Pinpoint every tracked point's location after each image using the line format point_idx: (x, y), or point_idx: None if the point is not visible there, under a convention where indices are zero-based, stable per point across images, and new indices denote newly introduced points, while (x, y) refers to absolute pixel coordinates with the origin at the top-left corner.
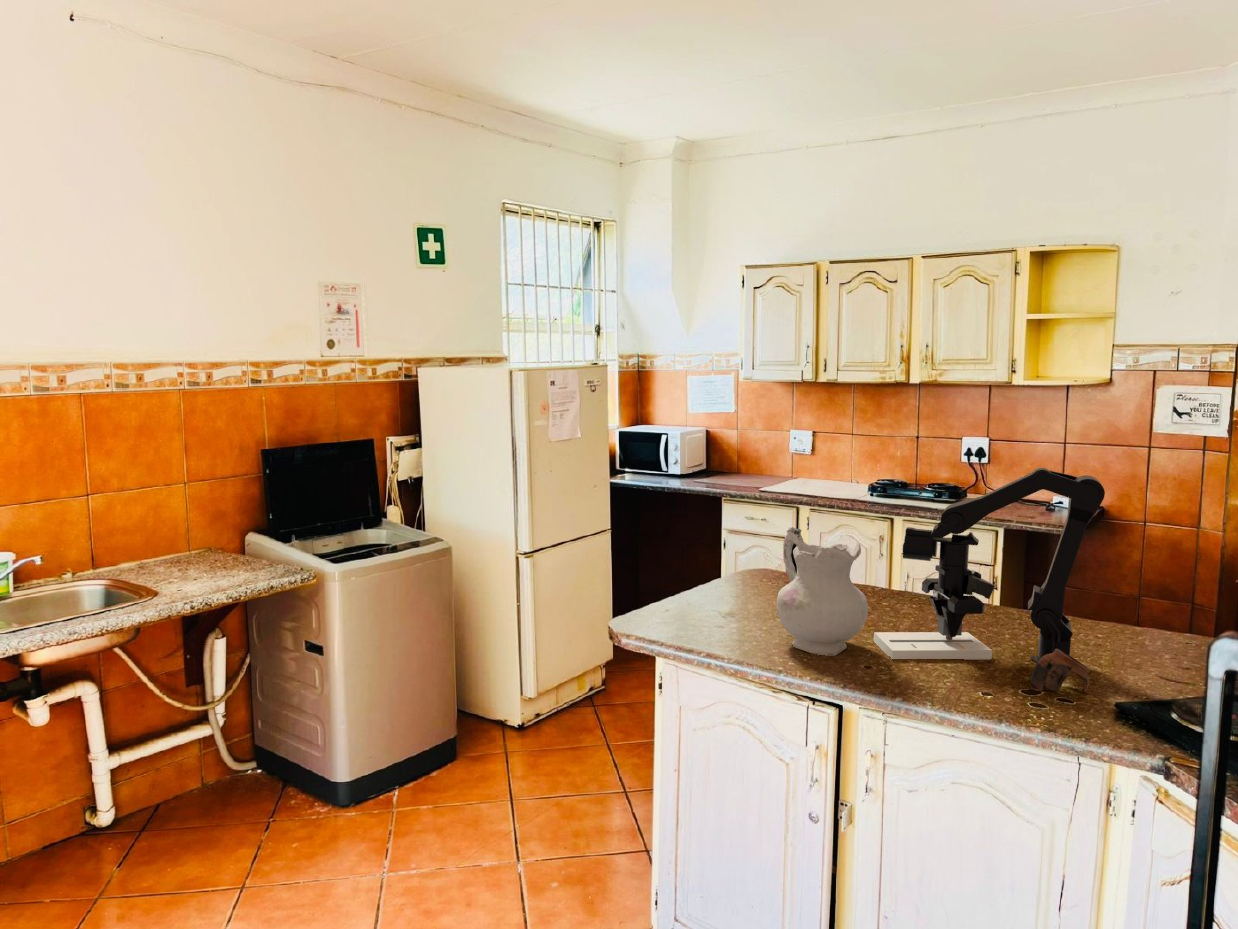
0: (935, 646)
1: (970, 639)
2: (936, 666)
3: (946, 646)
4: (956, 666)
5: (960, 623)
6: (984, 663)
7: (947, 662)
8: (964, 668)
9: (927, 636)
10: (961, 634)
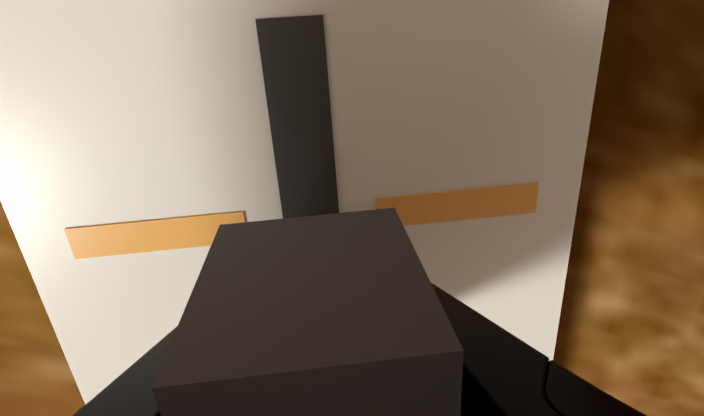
0: None
1: (236, 23)
2: (620, 368)
3: None
4: (646, 264)
5: (558, 370)
6: (636, 39)
7: (568, 297)
8: (691, 226)
9: None
10: (394, 212)
